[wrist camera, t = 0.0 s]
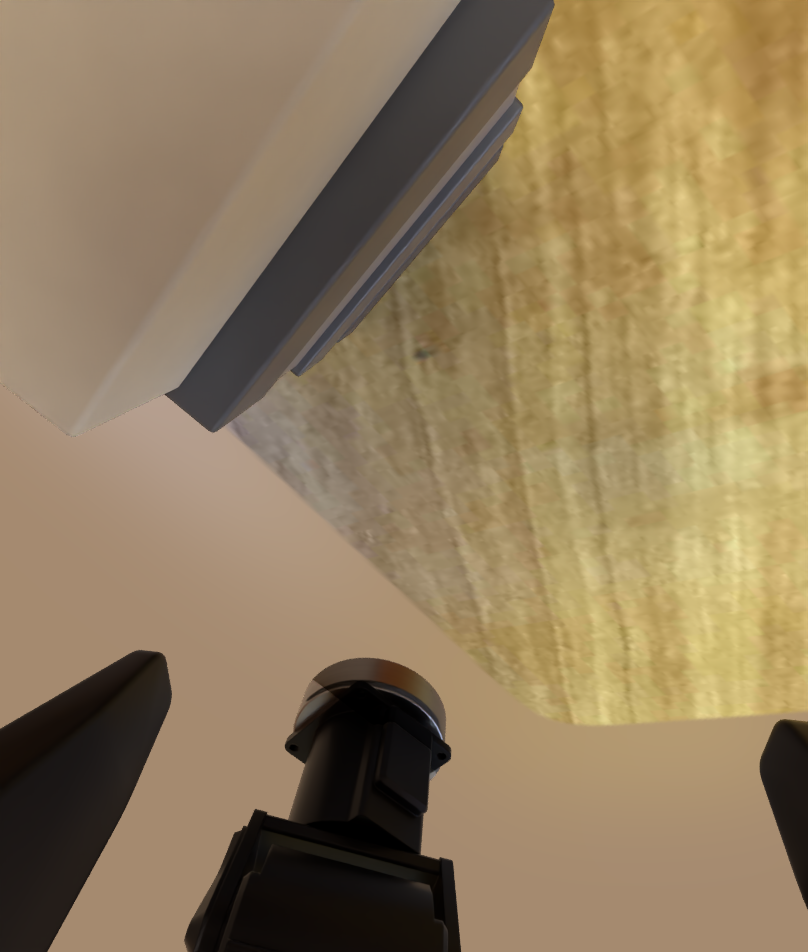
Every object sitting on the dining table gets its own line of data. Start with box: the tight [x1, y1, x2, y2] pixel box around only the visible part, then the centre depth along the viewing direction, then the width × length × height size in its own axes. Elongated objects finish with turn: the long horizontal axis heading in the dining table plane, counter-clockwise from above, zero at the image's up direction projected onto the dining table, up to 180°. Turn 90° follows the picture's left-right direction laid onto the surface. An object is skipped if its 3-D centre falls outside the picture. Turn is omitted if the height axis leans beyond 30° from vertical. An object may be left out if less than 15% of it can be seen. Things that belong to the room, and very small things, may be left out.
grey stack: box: [165, 0, 555, 432], centre depth 11 cm, size 7×12×11 cm, turn 48°
